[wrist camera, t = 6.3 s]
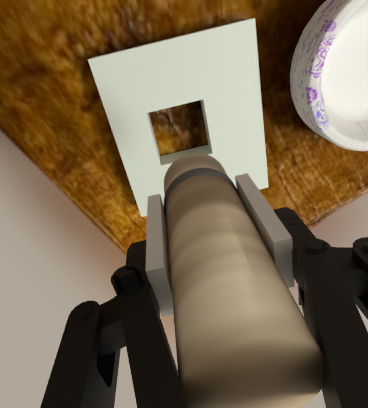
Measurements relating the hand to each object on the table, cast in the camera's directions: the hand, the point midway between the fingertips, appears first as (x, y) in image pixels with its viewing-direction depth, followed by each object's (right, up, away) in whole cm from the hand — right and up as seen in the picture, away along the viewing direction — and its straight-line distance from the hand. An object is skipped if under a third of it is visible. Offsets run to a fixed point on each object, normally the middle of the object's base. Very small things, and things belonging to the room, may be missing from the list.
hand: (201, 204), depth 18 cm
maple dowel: (0, +2, +3) cm, 3 cm away
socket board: (-1, +9, +17) cm, 19 cm away
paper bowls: (+17, +16, +15) cm, 28 cm away
